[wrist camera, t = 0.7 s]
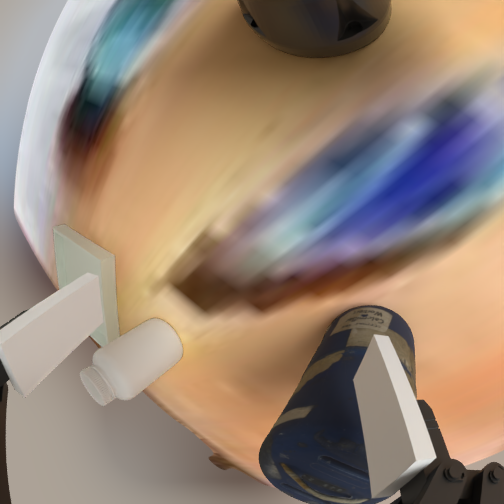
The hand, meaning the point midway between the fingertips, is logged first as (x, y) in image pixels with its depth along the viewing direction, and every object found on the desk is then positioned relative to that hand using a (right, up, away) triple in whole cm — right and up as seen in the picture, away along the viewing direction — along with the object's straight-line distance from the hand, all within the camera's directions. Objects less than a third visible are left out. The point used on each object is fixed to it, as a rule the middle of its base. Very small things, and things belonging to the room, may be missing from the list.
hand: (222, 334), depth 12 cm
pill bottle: (-12, -10, +28) cm, 32 cm away
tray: (-31, -3, +36) cm, 48 cm away
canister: (+13, -5, +14) cm, 20 cm away
